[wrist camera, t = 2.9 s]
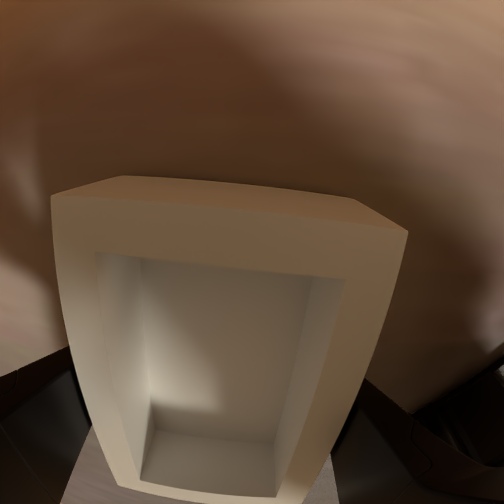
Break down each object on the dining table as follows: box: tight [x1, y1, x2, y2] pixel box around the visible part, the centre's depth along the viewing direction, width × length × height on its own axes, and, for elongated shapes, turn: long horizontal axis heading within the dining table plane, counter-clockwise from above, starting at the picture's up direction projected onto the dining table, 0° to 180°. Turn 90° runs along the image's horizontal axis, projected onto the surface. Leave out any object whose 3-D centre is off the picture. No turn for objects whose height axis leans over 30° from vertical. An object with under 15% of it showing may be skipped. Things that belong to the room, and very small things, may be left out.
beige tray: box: [51, 175, 409, 504], centre depth 8 cm, size 10×6×4 cm, turn 174°
